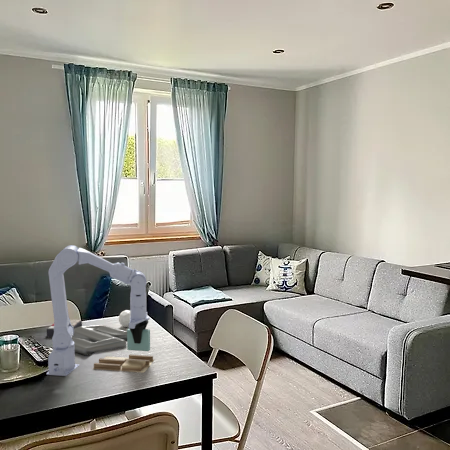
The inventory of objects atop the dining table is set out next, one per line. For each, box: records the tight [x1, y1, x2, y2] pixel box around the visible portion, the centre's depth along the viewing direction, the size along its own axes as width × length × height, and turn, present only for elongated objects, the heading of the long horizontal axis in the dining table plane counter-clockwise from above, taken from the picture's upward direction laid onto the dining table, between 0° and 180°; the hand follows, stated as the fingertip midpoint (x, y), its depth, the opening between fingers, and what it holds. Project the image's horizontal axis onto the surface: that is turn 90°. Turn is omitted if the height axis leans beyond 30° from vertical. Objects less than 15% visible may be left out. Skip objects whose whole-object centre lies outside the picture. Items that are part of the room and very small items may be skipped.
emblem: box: [72, 324, 127, 356], centre depth 192 cm, size 28×5×28 cm
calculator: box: [46, 319, 83, 338], centre depth 208 cm, size 11×4×15 cm
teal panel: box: [126, 328, 151, 352], centre depth 170 cm, size 2×8×8 cm, turn 81°
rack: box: [92, 354, 155, 374], centre depth 169 cm, size 12×19×2 cm, turn 81°
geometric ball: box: [118, 309, 130, 328], centre depth 215 cm, size 8×8×8 cm
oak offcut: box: [122, 360, 146, 369], centre depth 165 cm, size 5×7×1 cm
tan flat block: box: [122, 364, 146, 371], centre depth 165 cm, size 5×7×1 cm
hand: (138, 341), depth 170 cm, fingers closed on teal panel, 2 cm apart
